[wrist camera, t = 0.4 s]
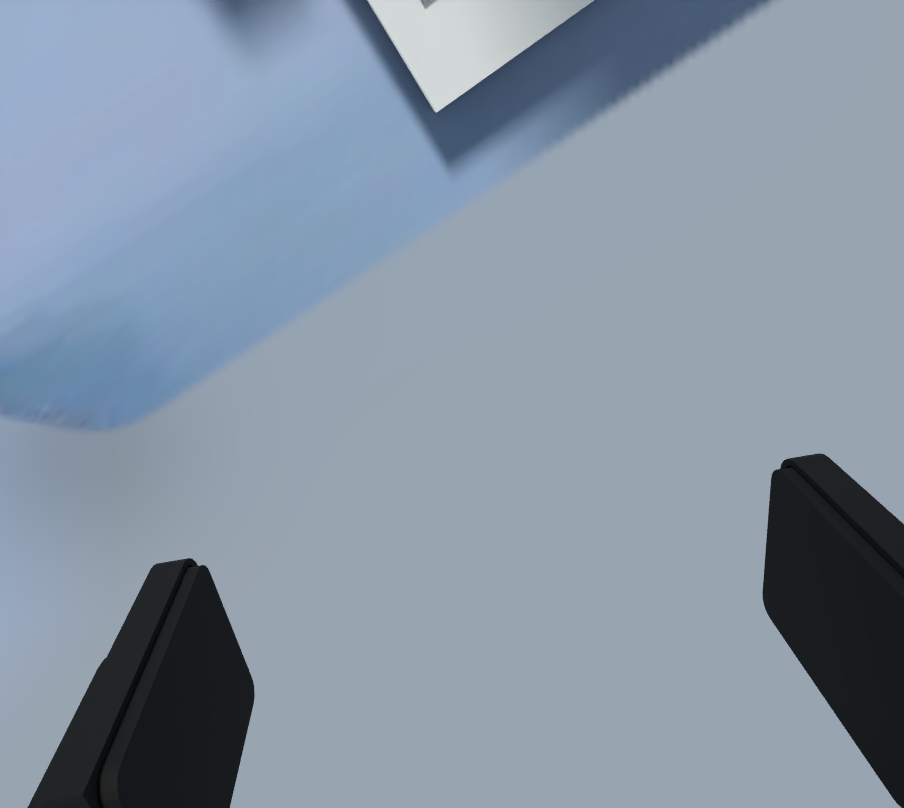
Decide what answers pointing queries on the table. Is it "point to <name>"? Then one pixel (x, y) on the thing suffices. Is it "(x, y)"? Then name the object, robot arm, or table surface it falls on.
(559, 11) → the switch panel
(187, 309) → the table surface
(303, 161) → the table surface
